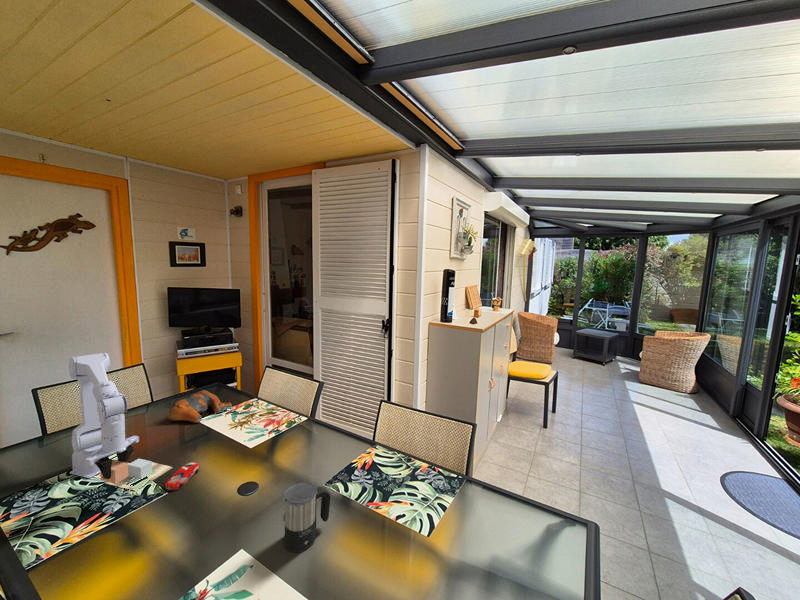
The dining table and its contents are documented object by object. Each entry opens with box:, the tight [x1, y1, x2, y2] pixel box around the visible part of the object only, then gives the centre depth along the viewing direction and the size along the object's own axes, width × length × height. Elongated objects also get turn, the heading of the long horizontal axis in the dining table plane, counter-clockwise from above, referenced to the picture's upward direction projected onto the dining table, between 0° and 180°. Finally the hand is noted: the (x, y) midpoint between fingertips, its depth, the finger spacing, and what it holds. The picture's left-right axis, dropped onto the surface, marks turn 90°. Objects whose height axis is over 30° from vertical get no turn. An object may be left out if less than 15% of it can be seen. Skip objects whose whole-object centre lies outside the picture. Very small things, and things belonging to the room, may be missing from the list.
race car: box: [164, 461, 201, 492], centre depth 118 cm, size 13×5×4 cm, turn 174°
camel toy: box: [166, 389, 233, 423], centre depth 167 cm, size 25×13×17 cm
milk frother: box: [283, 482, 331, 553], centre depth 99 cm, size 14×16×15 cm
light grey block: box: [128, 458, 153, 479], centre depth 119 cm, size 6×4×4 cm, turn 77°
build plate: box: [104, 461, 174, 492], centre depth 120 cm, size 14×14×1 cm
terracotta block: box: [100, 459, 129, 484], centre depth 106 cm, size 6×4×4 cm, turn 76°
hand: (114, 473), depth 106 cm, fingers closed on terracotta block, 4 cm apart
